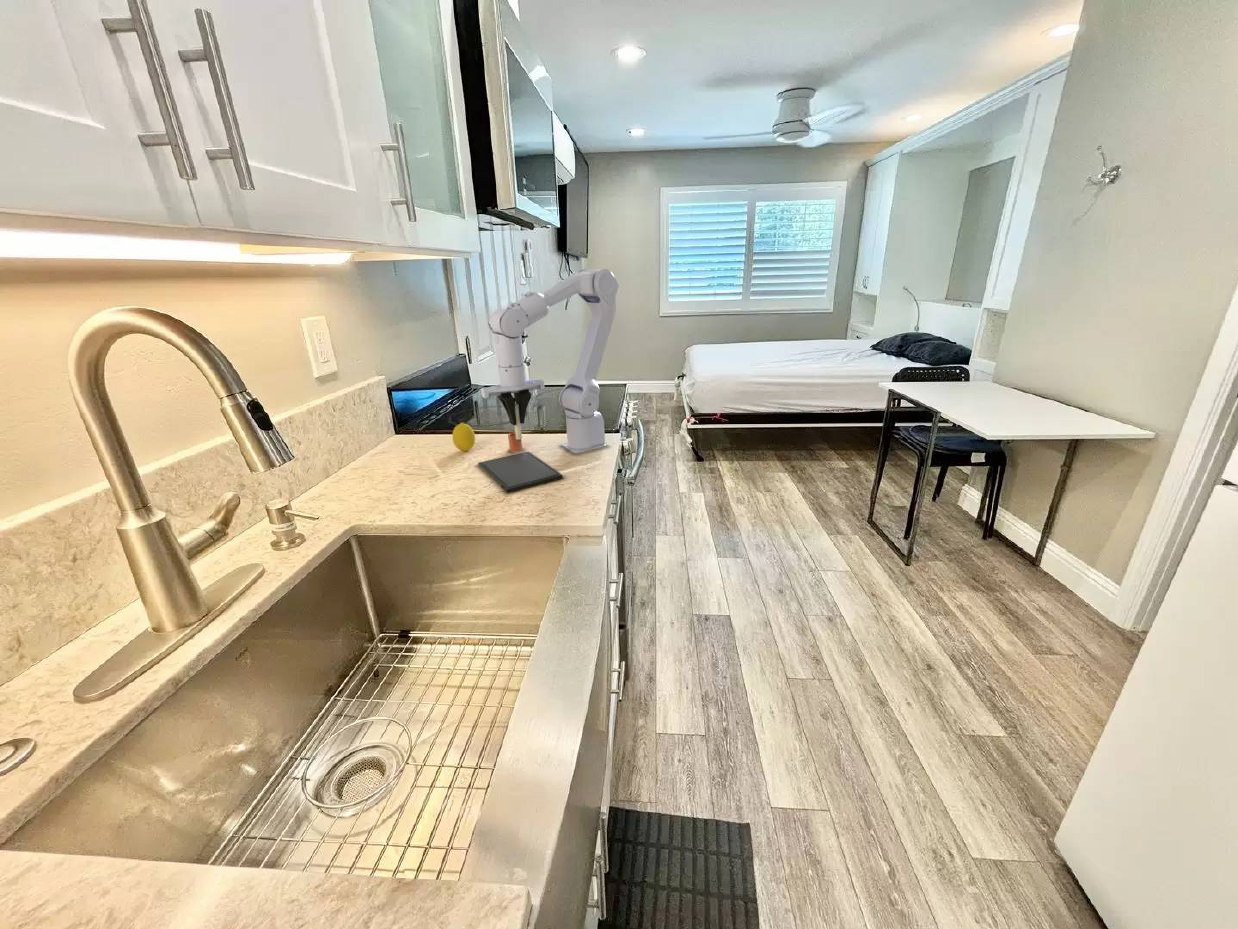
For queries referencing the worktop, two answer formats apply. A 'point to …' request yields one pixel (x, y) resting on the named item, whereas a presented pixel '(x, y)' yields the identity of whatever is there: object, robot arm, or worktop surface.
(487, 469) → the tablet
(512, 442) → the holder
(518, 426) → the stylus
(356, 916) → the worktop surface
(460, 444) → the lemon
